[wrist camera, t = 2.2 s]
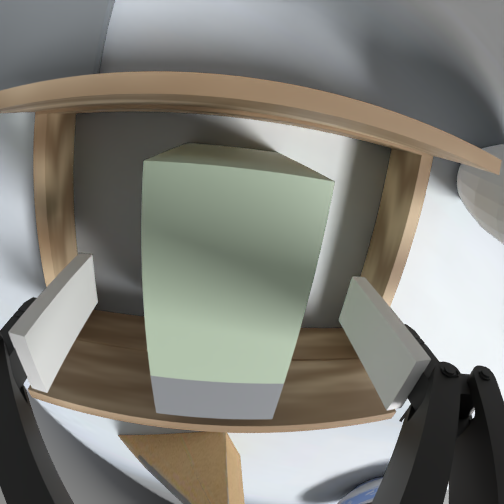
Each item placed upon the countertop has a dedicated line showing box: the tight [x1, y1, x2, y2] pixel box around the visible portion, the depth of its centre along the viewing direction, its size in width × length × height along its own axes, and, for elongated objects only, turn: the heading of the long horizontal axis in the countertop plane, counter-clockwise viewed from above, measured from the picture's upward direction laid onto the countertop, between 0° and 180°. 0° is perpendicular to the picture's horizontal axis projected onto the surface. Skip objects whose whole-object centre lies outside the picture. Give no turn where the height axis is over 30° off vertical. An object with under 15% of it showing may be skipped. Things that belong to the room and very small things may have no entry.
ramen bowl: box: [337, 477, 383, 504], centre depth 44 cm, size 25×23×8 cm
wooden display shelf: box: [0, 71, 502, 433], centre depth 16 cm, size 18×25×10 cm
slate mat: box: [0, 0, 115, 91], centre depth 11 cm, size 16×16×1 cm
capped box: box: [141, 143, 335, 419], centre depth 16 cm, size 12×6×11 cm, turn 172°
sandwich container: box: [118, 432, 244, 504], centre depth 26 cm, size 9×15×15 cm, turn 101°
